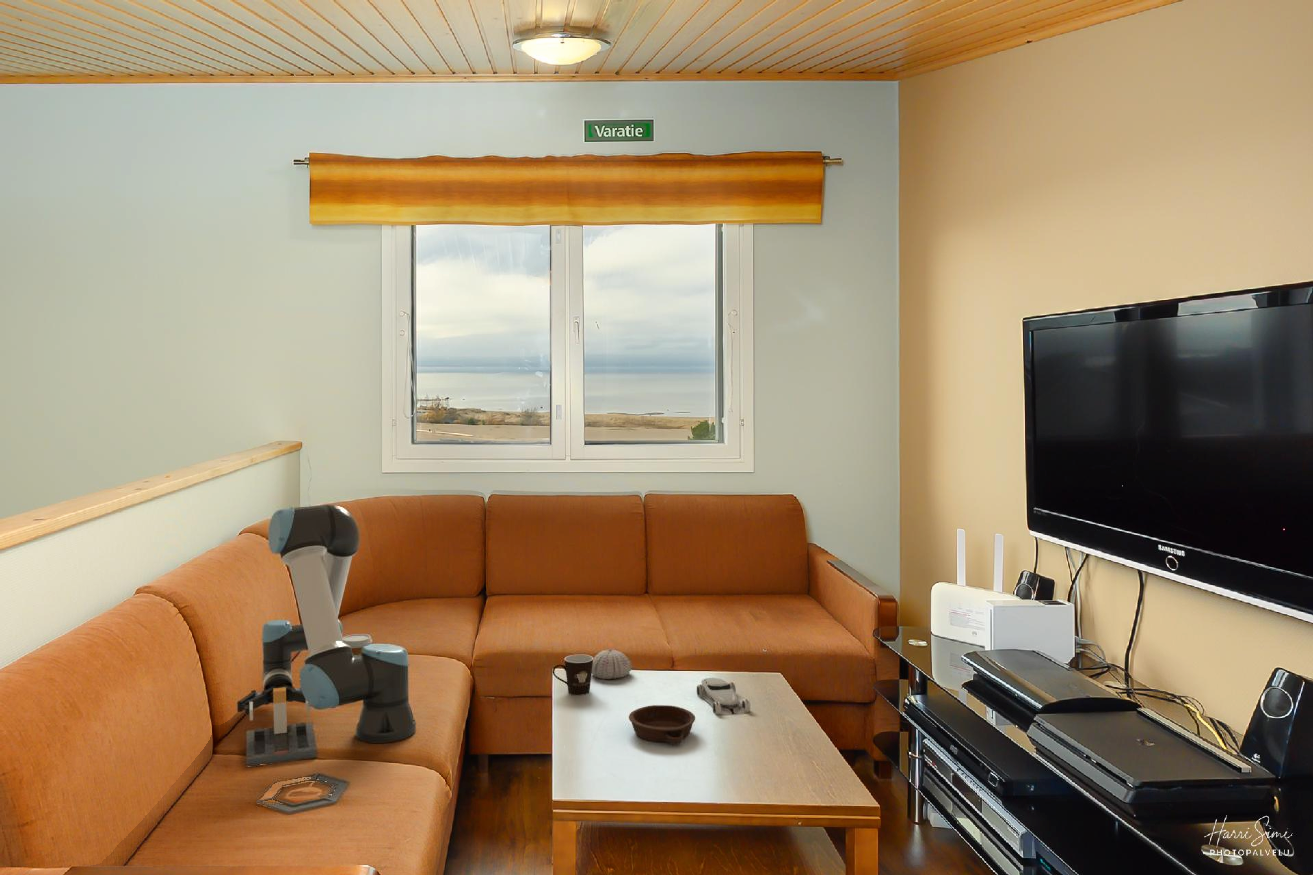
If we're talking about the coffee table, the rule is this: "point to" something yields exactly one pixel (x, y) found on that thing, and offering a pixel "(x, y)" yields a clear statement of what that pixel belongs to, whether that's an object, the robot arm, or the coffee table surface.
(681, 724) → the dish
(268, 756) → the panel
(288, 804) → the hexagonal plaque
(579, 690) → the coffee mug
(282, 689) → the breaker lever
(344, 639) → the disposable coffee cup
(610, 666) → the sea urchin shell
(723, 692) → the car model
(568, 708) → the coffee table surface
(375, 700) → the robot arm
